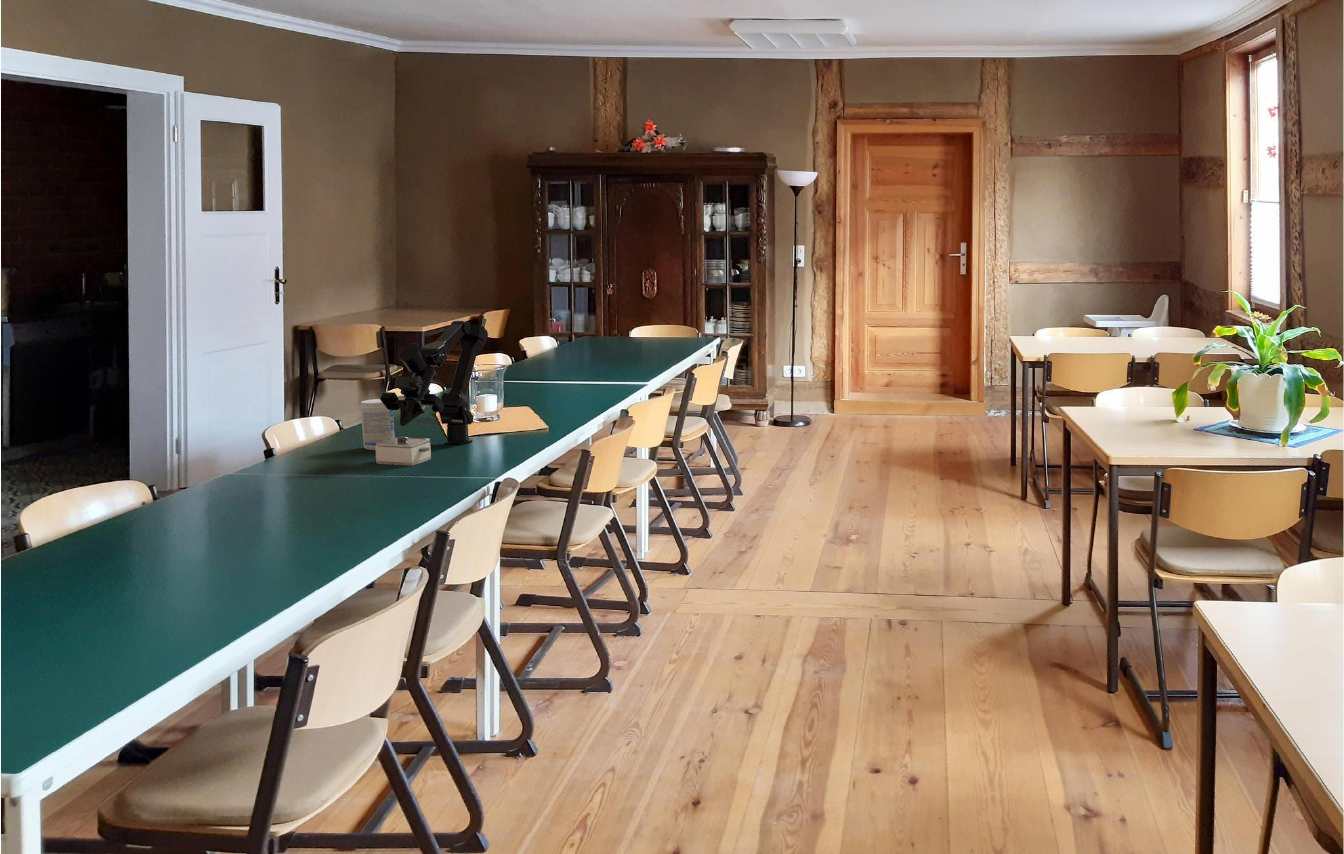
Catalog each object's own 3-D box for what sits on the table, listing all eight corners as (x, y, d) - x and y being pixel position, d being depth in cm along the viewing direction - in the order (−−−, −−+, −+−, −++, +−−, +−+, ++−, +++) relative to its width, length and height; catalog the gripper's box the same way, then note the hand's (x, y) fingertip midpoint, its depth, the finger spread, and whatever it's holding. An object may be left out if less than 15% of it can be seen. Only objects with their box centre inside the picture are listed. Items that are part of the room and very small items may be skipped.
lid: (395, 439, 368) (395, 433, 368) (430, 441, 364) (430, 434, 364) (376, 445, 359) (375, 439, 358) (411, 447, 355) (411, 441, 354)
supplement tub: (400, 448, 383) (397, 401, 380) (370, 452, 378) (367, 404, 375) (388, 444, 391) (385, 397, 388) (358, 447, 386) (356, 400, 383)
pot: (389, 456, 369) (388, 440, 369) (436, 459, 364) (436, 442, 363) (370, 463, 360) (369, 446, 359) (418, 466, 355) (417, 448, 354)
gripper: (381, 364, 366) (361, 407, 357) (436, 366, 359) (418, 410, 351) (397, 387, 374) (379, 430, 366) (452, 389, 368) (434, 433, 359)
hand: (401, 425), depth 360 cm, fingers closed
